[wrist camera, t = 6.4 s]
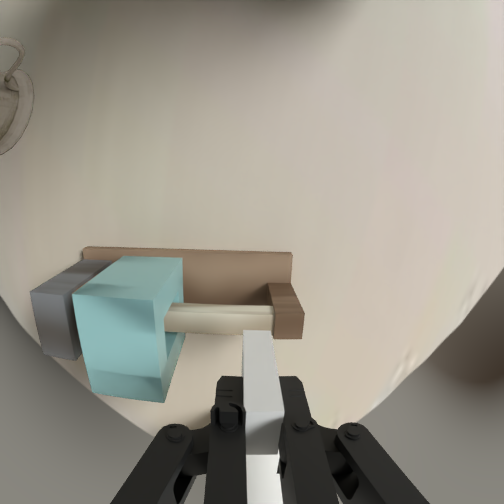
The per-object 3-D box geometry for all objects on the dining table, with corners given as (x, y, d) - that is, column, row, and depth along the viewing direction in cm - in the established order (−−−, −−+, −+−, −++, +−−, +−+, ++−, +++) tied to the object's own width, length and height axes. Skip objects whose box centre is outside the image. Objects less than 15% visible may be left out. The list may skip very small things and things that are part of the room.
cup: (243, 384, 31) (246, 514, 15) (301, 415, 32) (329, 531, 17) (200, 426, 32) (186, 542, 17) (256, 452, 34) (264, 560, 18)
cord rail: (87, 246, 27) (27, 277, 17) (290, 252, 28) (316, 291, 18) (94, 314, 29) (46, 365, 19) (285, 324, 30) (304, 387, 20)
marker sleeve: (123, 255, 24) (71, 293, 16) (182, 257, 25) (153, 300, 16) (130, 332, 26) (92, 392, 17) (185, 336, 26) (164, 402, 17)
